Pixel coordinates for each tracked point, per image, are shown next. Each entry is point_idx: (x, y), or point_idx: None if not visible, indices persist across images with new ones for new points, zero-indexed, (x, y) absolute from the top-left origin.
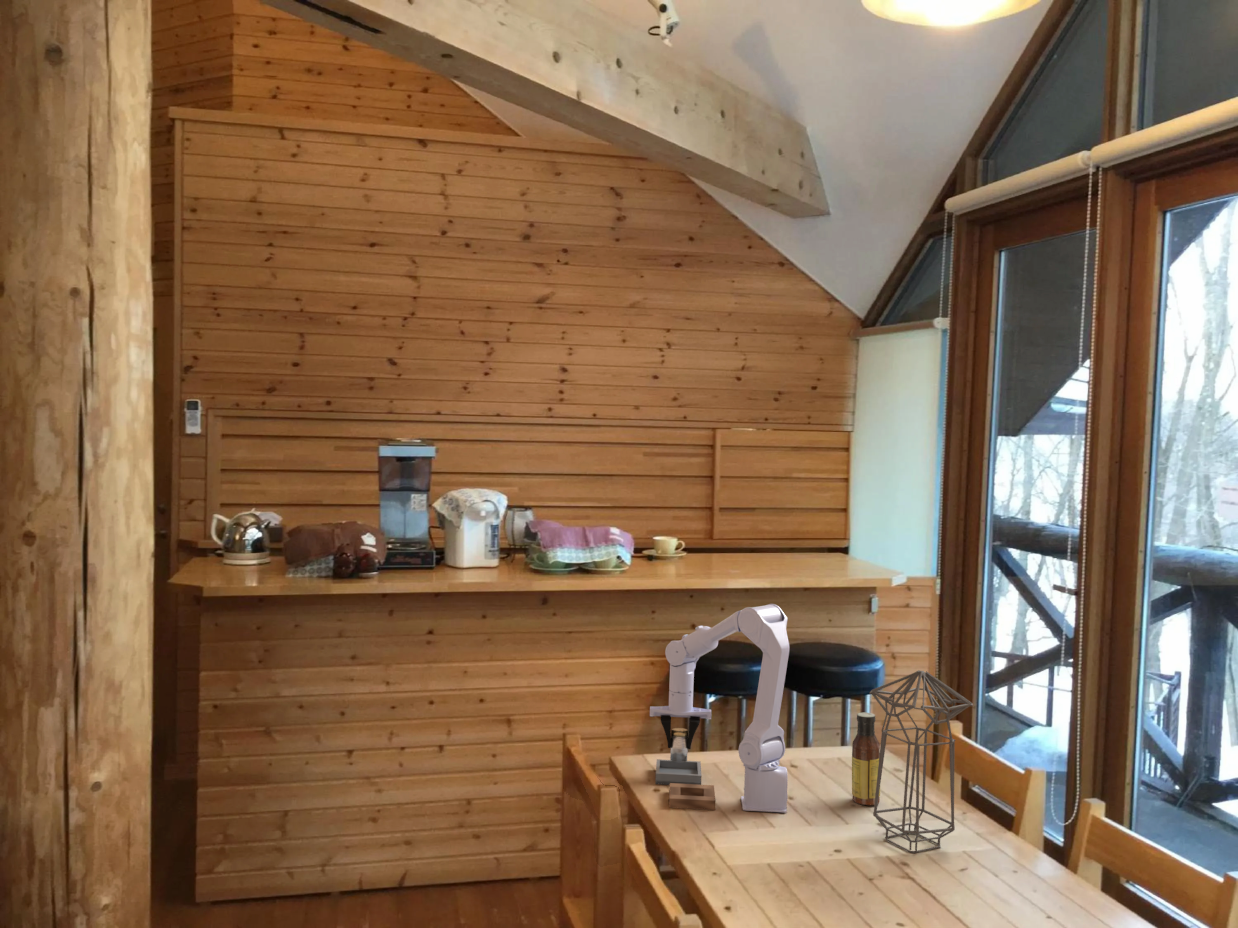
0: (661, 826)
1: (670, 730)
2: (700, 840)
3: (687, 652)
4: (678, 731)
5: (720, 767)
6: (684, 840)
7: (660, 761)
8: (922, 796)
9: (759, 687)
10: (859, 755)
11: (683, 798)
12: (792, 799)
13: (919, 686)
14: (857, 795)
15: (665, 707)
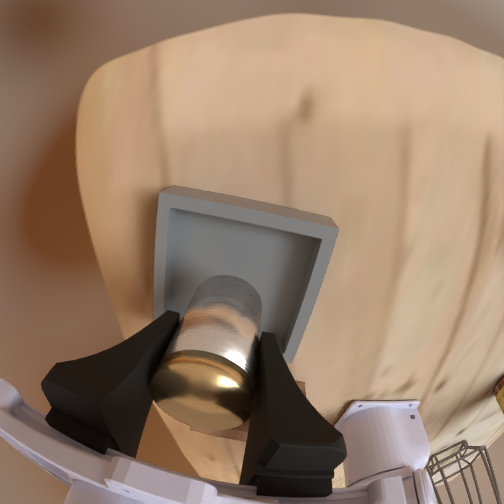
0: (181, 448)
1: (146, 418)
2: (228, 472)
3: None
4: (190, 414)
5: (412, 181)
6: (209, 469)
7: (173, 207)
8: (487, 458)
9: None
10: None
11: (217, 434)
12: (437, 391)
13: None
14: (497, 399)
15: (43, 449)
